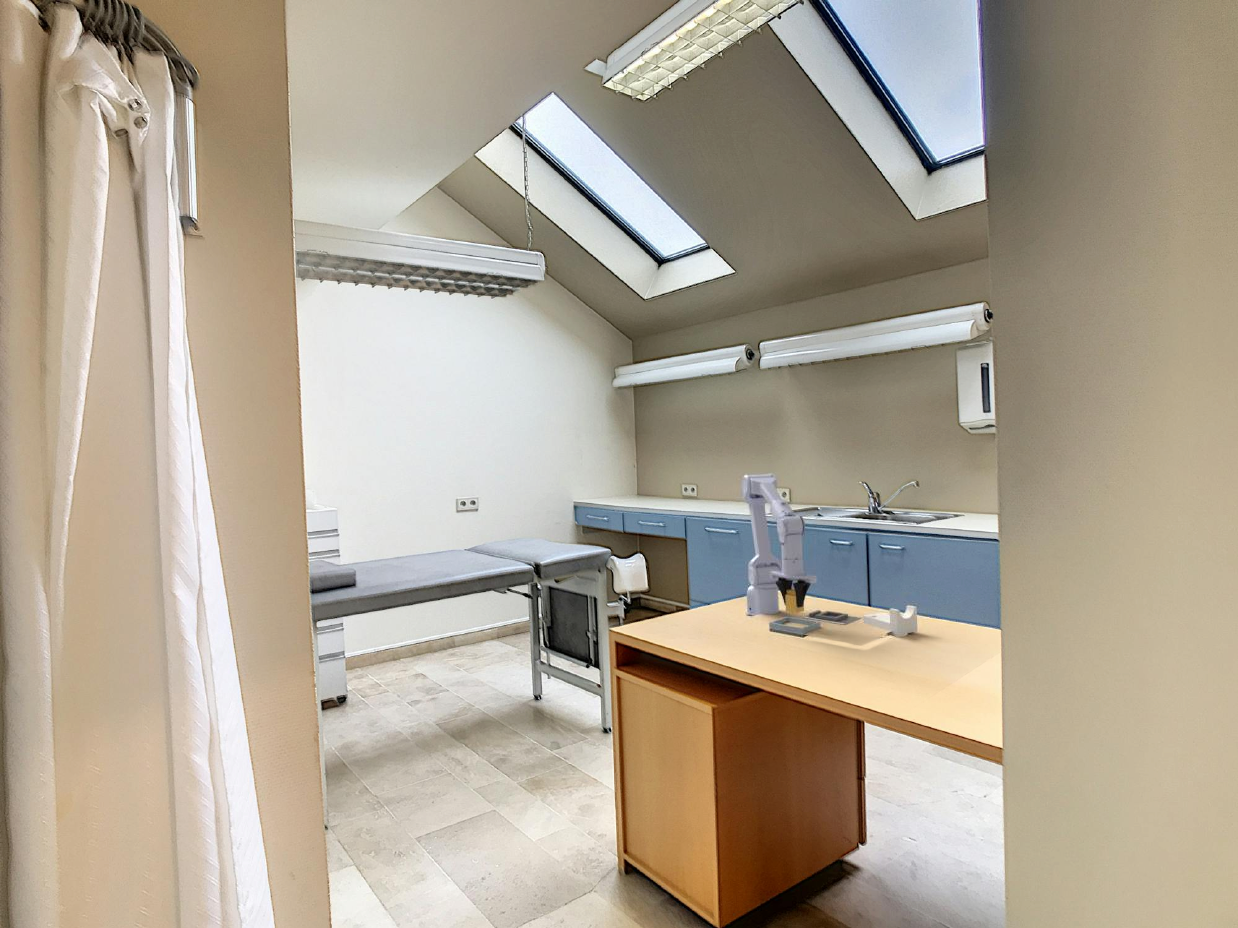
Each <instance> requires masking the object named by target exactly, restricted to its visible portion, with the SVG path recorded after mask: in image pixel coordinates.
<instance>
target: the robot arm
mask: <svg viewBox="0 0 1238 928" xmlns="http://www.w3.org/2000/svg"><path fill="white" fill-rule="evenodd" d="M740 487H741V492H742V493H741V494H742V498H743V502H744V503H746V504H748V509H749V515H750V516H749V517H750V521H751V523H750V525H751V532H752V537H753V538H752V539H753V544H754V545H753V546H754V552H755V555H754V557H753V558H752V559H751V560H750V561H749V562H748V570H747V575H748V576H747V577H748V582H749V584H750V586H749V587H748V588H747V591H746V608H747V609H746V610H747V611H746V613H745V614H746V615H747V616H751V617H755V616H758V615H760V614H761V615H774V614H775V615H776V614H778V613H779V612H780V602H779V601H780V600H779V591H780V595H781V597H782V600H783V603H784V606H786V599H785V595H786V594H787V591H786V590H788V589H795V594H796V604H797V607H798V608H800V607H803V604H804V605H805V599H806V595H807V592H808V591H809V588H810V586H811V584H817V583H818V579H817V578H818V577H817V575H813V574H809V573H804V565H803V563H804V562H803V537H802V536H804V534H805V532H806V524H805V521H804V517H803V515H802V514H798V513H795V512H794V511H793V509H792V507H791V505H790V504H789V503H788V501H787V500H785V499H782V498H781V496H780V494H779V492H778V490H777V489H778V481H777V477H776V475H774V473H767V474H764V473H763V474H744V476H743V477H742V480H741V486H740ZM766 503H768V504H769V513H770V514H771V516H772V517H773V519H774V520H775V522H776V530H777V534H778V540H779V542H780V544H781V545H780V547H781V561H780V559H779V558H777V557H776V555H773V554H772V547H771V540H770V535H769V528H768V527H769V526H768V521H767V512H766V506H765V505H766Z"/></svg>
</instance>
